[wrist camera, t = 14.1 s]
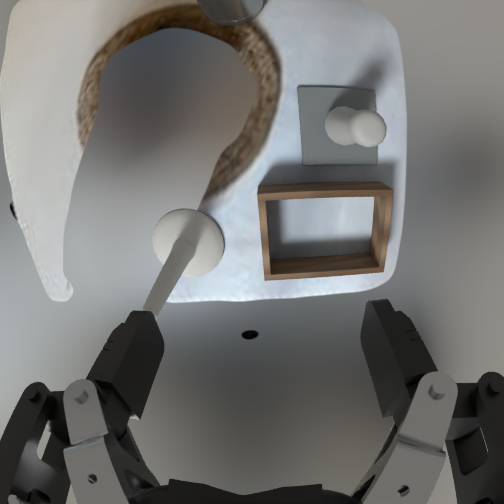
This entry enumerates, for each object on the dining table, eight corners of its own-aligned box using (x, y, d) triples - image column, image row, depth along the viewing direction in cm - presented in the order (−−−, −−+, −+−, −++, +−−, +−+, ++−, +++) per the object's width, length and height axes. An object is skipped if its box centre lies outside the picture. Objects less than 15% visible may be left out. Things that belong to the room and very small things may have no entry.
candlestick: (207, 198, 43) (123, 330, 16) (234, 265, 48) (204, 423, 22) (142, 222, 45) (35, 341, 18) (172, 281, 51) (109, 418, 24)
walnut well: (258, 185, 41) (257, 194, 37) (380, 182, 40) (393, 189, 35) (264, 264, 48) (264, 280, 43) (374, 257, 46) (383, 272, 42)
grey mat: (297, 87, 34) (297, 87, 34) (373, 90, 33) (374, 90, 33) (302, 164, 40) (303, 165, 39) (375, 163, 38) (376, 164, 38)
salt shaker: (362, 114, 35) (401, 115, 23) (352, 148, 37) (387, 162, 26) (326, 101, 34) (353, 94, 23) (317, 136, 37) (339, 144, 25)
